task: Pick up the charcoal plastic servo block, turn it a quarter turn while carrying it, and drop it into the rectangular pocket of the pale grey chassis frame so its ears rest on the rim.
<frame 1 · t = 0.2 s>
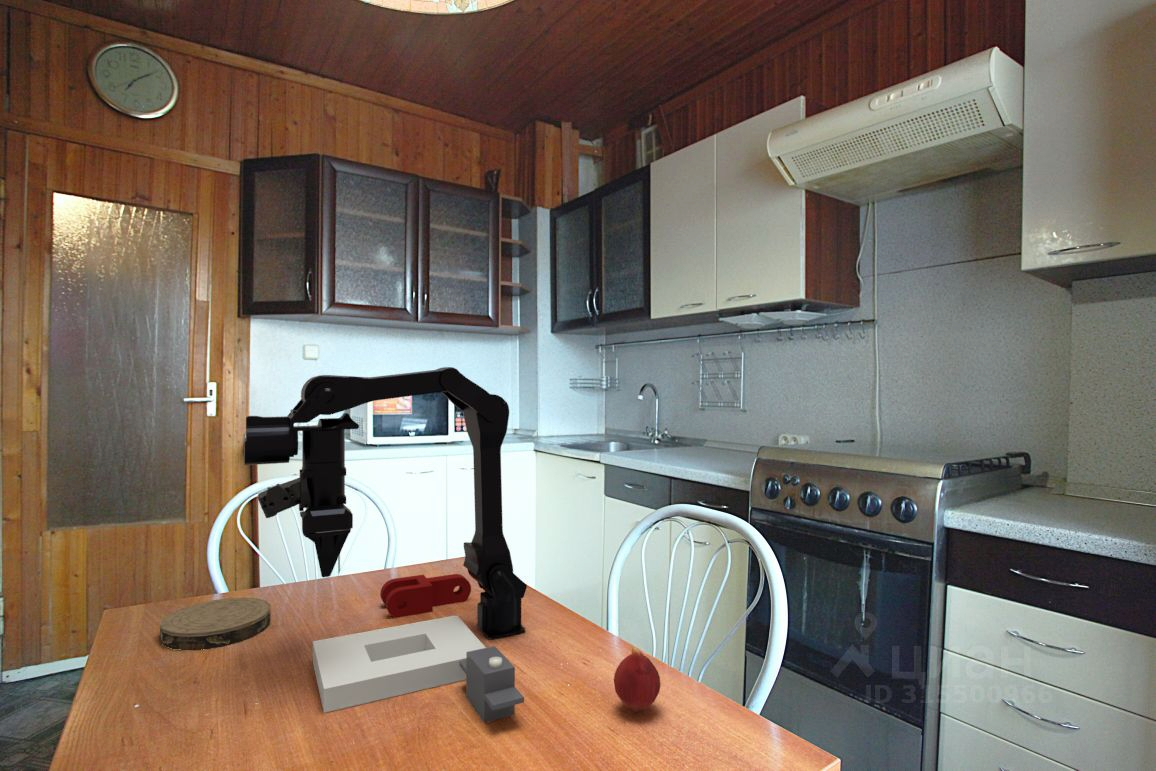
hand: (323, 567, 88), 14 cm above the table, fingers open, 9 cm apart
wood slice: (217, 633, 101), on the table
onion: (636, 712, 76), on the table
mechanical linkage: (427, 607, 113), on the table
chassis: (399, 667, 88), on the table
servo: (489, 706, 78), on the table
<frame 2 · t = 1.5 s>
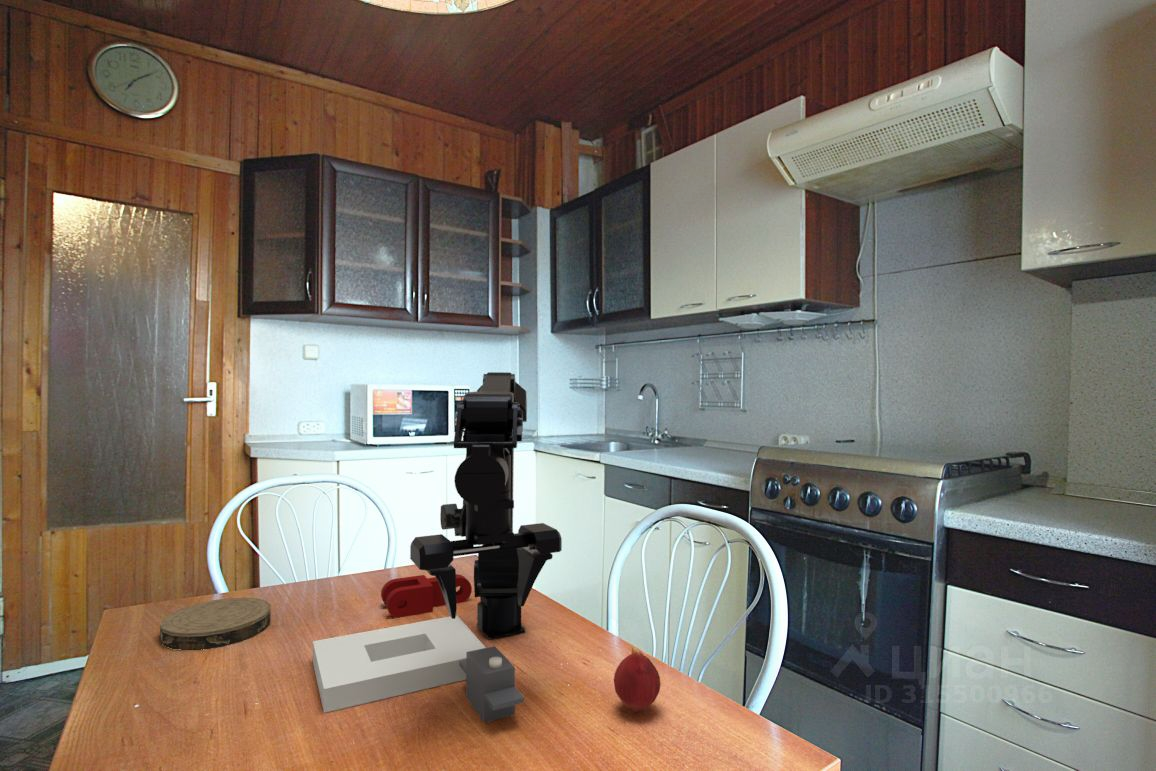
hand: (487, 611, 78), 12 cm above the table, fingers open, 9 cm apart
nothing on the table moved.
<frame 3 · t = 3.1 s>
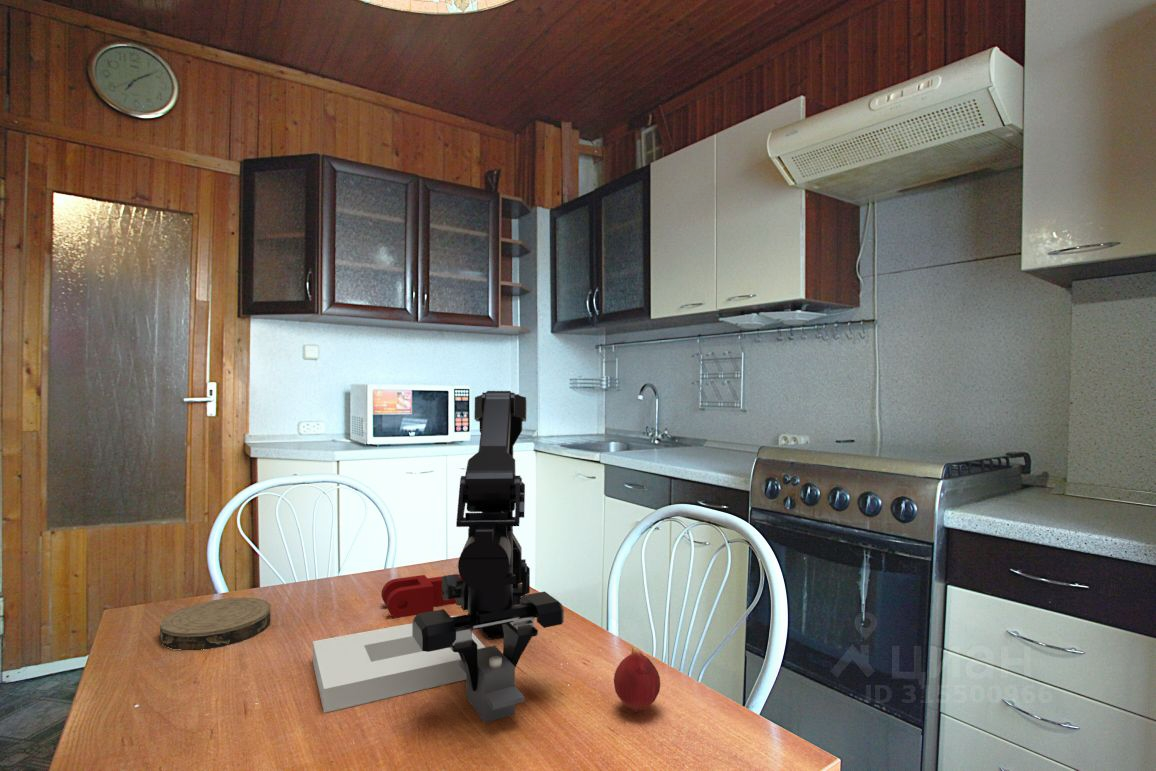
hand: (489, 685, 78), 3 cm above the table, fingers closed on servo, 4 cm apart
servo: (489, 705, 78), on the table, touching gripper
everything else where it was.
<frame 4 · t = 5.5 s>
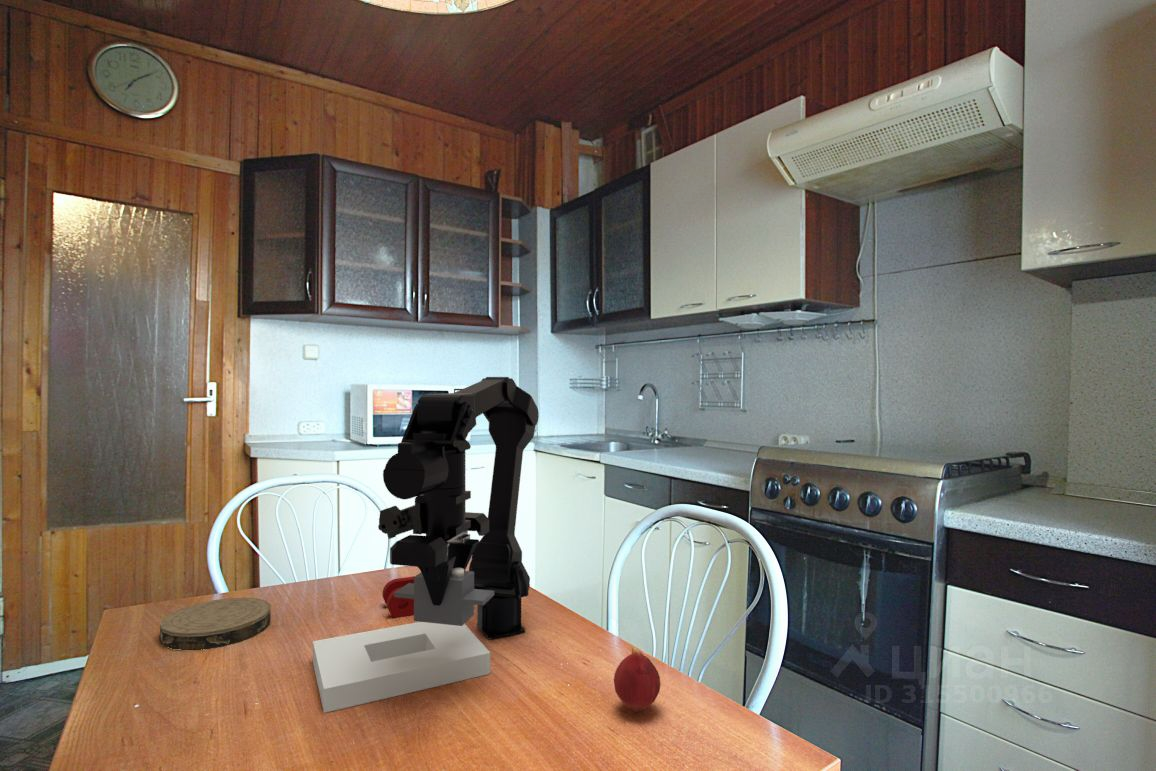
hand: (444, 599, 83), 12 cm above the table, fingers closed on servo, 4 cm apart
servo: (444, 617, 83), point 9 cm above the table, touching gripper
everything else where it was.
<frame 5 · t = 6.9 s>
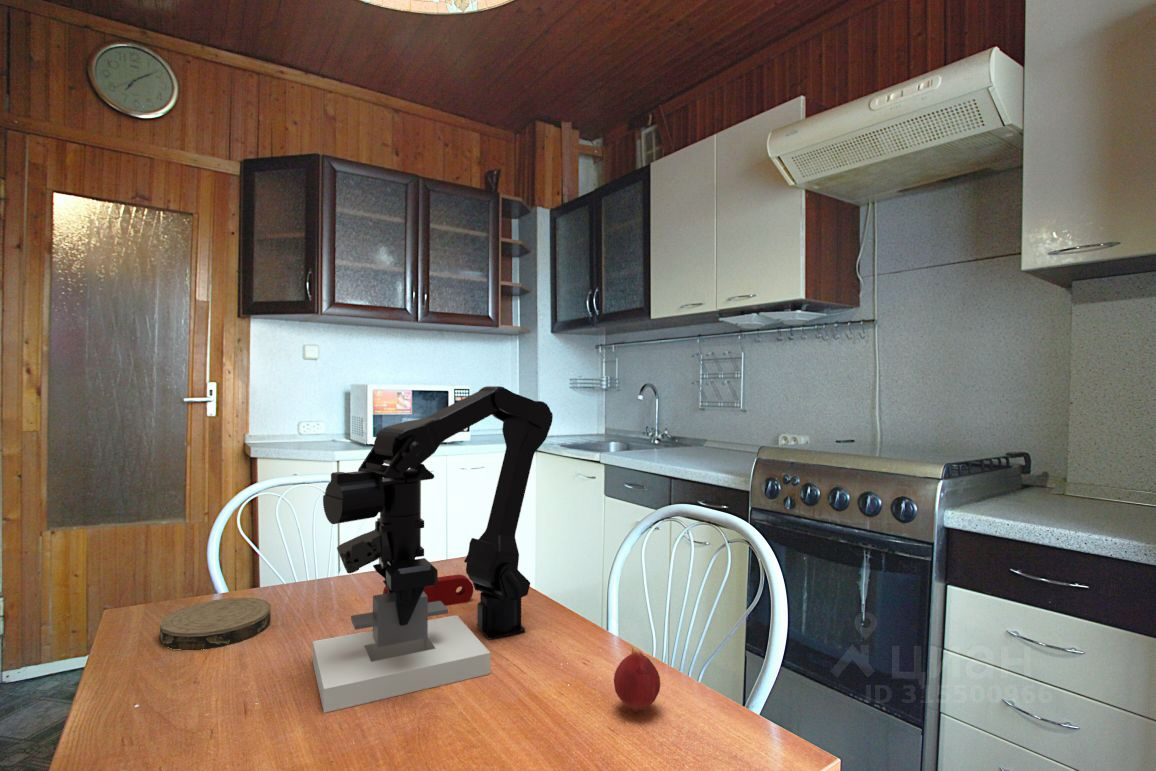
hand: (400, 619, 88), 7 cm above the table, fingers closed on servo, 4 cm apart
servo: (400, 637, 88), point 4 cm above the table, touching gripper
everything else where it was.
when the fingers open (4 cm above the table, at t = 7.8 s): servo drops 1 cm, resting on chassis.
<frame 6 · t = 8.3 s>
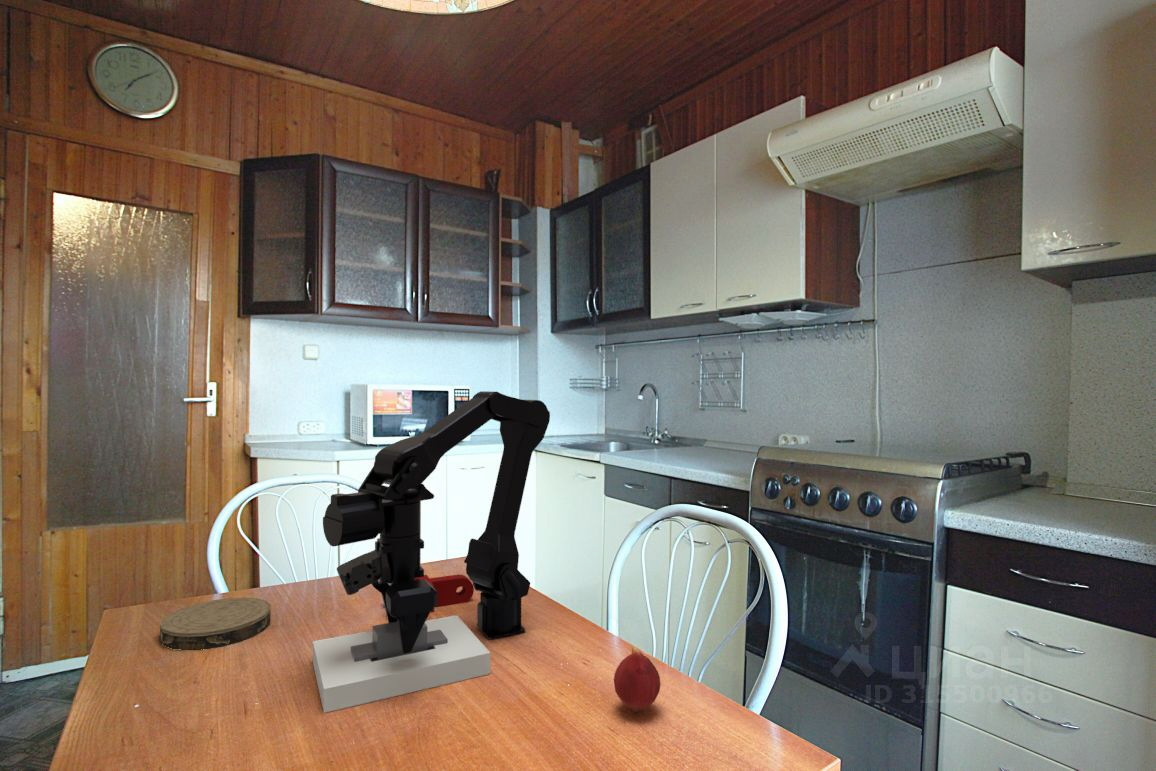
hand: (400, 640, 88), 4 cm above the table, fingers open, 9 cm apart
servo: (399, 667, 88), resting on chassis
everything else where it was.
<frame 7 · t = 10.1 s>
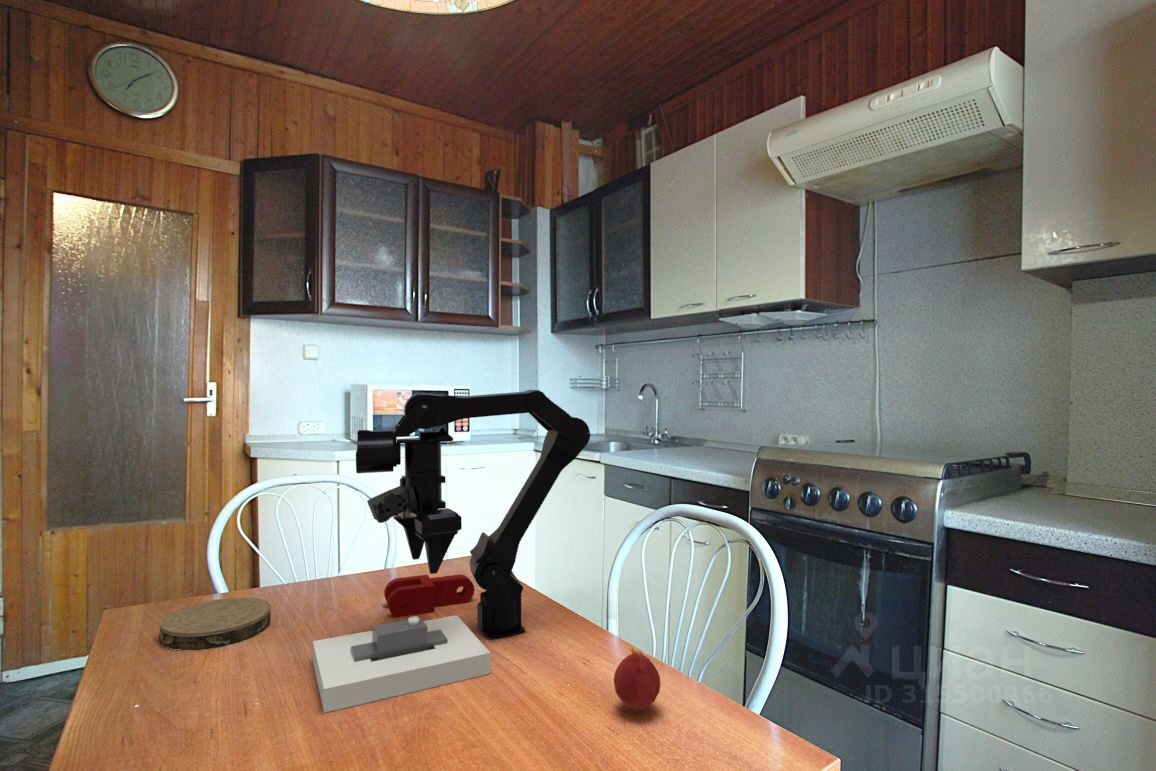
hand: (424, 566, 98), 12 cm above the table, fingers open, 9 cm apart
nothing on the table moved.
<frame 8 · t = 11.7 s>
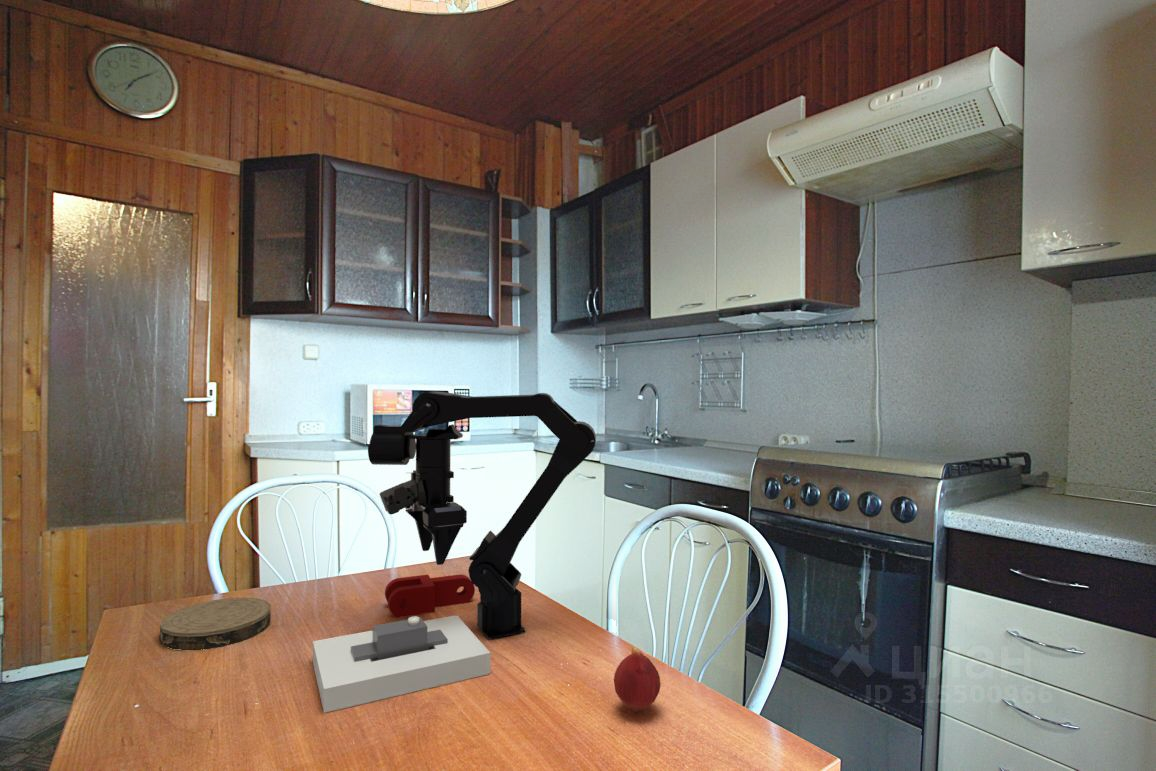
hand: (432, 557, 102), 12 cm above the table, fingers open, 9 cm apart
nothing on the table moved.
at the end: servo 0.0 cm off-centre on the chassis, point 0.0 cm above the chassis's base; the gripper is holding nothing; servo tilted 0° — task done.
